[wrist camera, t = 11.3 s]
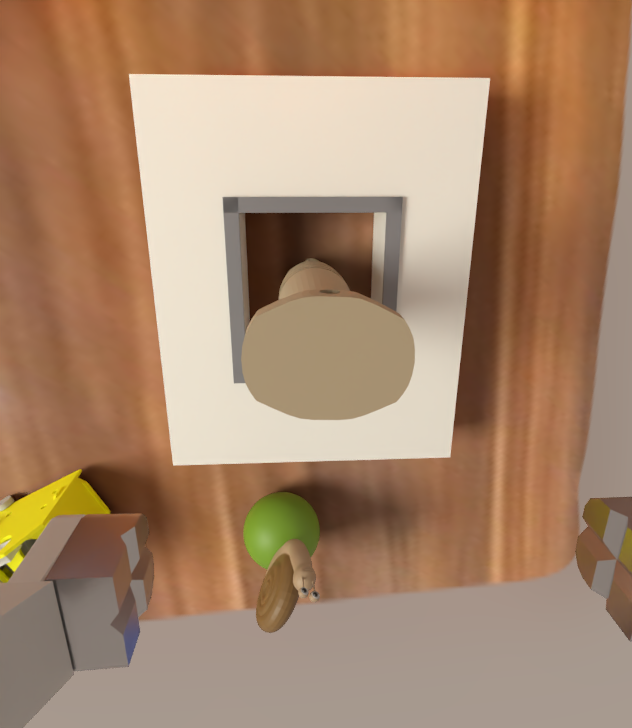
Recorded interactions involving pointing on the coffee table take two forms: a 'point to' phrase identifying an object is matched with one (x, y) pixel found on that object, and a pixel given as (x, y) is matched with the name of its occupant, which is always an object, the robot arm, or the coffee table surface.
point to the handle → (326, 349)
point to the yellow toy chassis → (41, 516)
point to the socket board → (306, 195)
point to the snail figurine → (282, 554)
